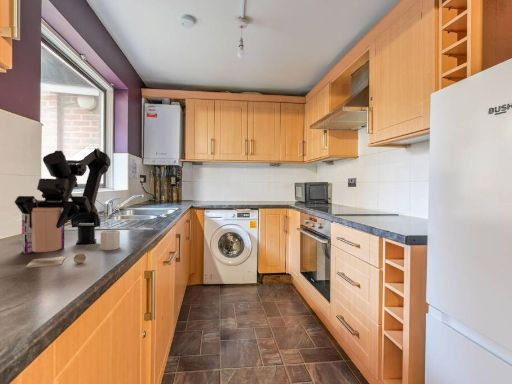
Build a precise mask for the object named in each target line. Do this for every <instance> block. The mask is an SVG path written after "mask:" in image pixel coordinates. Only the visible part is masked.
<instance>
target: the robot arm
mask: <svg viewBox="0 0 512 384" xmlns="http://www.w3.org/2000/svg"><path fill="white" fill-rule="evenodd" d="M42 162H43V163H44V166H45V167H46V169H47V171H48V173H49V175H50V176H51V177H53V178H39V179H38V184H37V187H36V190H37V191H39V192H41V198H43V199H37V198H35V196H34V195H19V196H17V197H16V199H15V201H14V204H15V205H16V206H17V208H18V210H19V211H20V212H21V214H22V213H23V214H29V226H30V228H31V229H32V211H33V208H41V207H60V208H63V211H62V213H61V216H60V218H59V220H58V222H57V225H56V227H57V228H60V227H61V226H63V225H64V226H65V224H66V223H68V222H69V221H70V223H71V224H70V225H71V228H77V240H76V242H75V244H76V245H83V244H84V245H85V244H87V245H88V244H94V243H95V244H96V243H97V238H96V228H98V227H99V228H100V227H101V224H102V223H101V221H102V220H101V218H100V216H99V213H98V212H99V211H98V209H97V207H96V206H95V204H96V201H97V196H98V193H99V188H100V184H101V180H102V177H103V175H104V174H106V173H107V172H108V170H109V168H110V166H111V163H112V161H111V159H110V157H109V155H108V154H107V153H105V152H103V151H102V150H101V149H100V148H99V147H95V146H94V147H93V146H87V147H84V148H83V149H82V150H81V151H80V152H79V153H77V154H76V155H74V156H72V157H66V155H65V154H64V152H63V150H55V151H54V152H51V153H48V154H46V155H45V156H43V158H42ZM87 169H89V170H88V176H87V178H86V182H85V186H84V189H83V193H82V195H81V196H80V195H79V196H78V195H77V196H76V195H75V196H73V191H74V189H75V188H78V187H79V184H78V178H77V177H82V176H84V175H85V174H86V172H87ZM69 200H71V201H69Z"/></svg>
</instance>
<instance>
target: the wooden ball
mask: <svg viewBox="0 0 512 384" xmlns="http://www.w3.org/2000/svg"><path fill="white" fill-rule="evenodd" d="M86 260H87V256H86V254H85V253H84V252H78V253H76V254H75V255H74V257H73V261H74V262H75V264H79V265H81V264H83V263H85V261H86Z"/></svg>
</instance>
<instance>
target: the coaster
mask: <svg viewBox="0 0 512 384" xmlns="http://www.w3.org/2000/svg"><path fill="white" fill-rule="evenodd" d="M65 259H66V256H56V257H55V256H54V257H46V258H45V257H43V258H35V259H34V258H32V260H31V261H30V262H28V264H27V265H26V266H25V268H26V269H29V268H39V267H49V266H50V267H51V266H57V265H63V263H64V260H65Z"/></svg>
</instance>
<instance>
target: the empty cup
mask: <svg viewBox="0 0 512 384" xmlns="http://www.w3.org/2000/svg"><path fill="white" fill-rule="evenodd" d="M120 234H121V233H120V230H118V229H107V230H106V229H105V230H102V231H101V230H100V250H101V251H102V250H103V251H111V250H117V249H120V247H121V246H120V242H121V241H120V237H121V235H120Z"/></svg>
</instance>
